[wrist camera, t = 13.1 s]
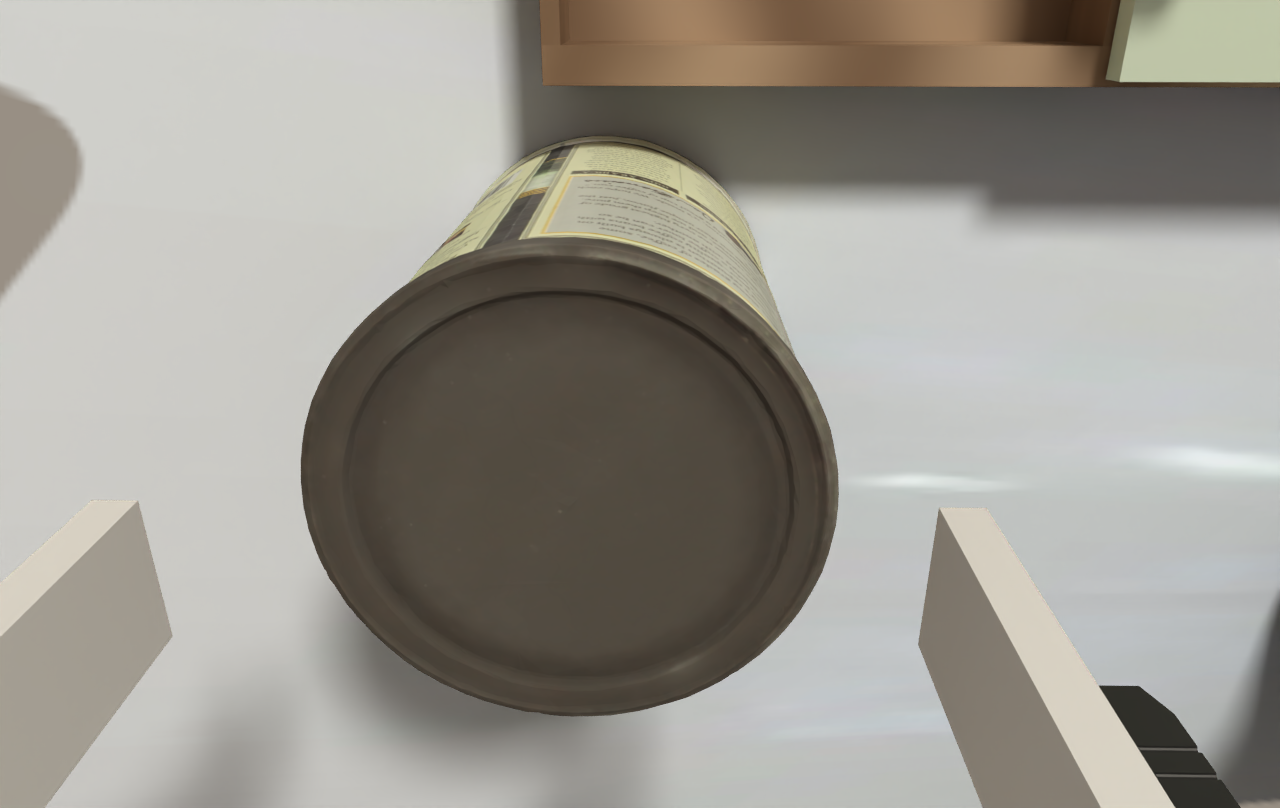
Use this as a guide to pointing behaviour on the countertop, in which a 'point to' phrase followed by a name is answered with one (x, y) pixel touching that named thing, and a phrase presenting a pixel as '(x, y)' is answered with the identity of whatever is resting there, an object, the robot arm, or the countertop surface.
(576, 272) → the coffee can
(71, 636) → the robot arm
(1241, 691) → the countertop surface
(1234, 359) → the countertop surface
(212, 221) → the countertop surface
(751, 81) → the wooden tray
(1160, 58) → the lid
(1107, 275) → the countertop surface
